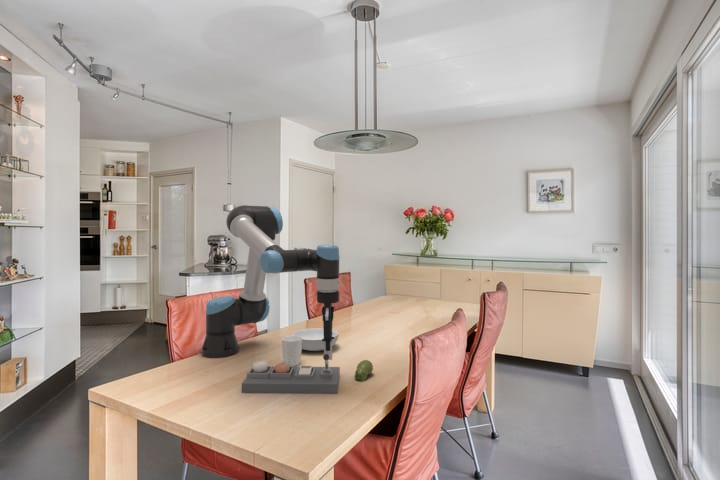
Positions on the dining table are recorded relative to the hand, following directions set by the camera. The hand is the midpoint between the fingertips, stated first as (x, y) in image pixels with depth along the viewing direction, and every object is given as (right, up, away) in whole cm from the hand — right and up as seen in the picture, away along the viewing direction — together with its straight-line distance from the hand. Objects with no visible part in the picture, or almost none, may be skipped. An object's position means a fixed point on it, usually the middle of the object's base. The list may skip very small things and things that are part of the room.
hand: (328, 359), depth 131 cm
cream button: (-23, -4, +1) cm, 24 cm away
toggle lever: (0, -4, +2) cm, 4 cm away
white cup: (-16, -9, +22) cm, 28 cm away
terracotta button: (-16, -5, +2) cm, 17 cm away
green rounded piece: (+12, -9, +8) cm, 18 cm away
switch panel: (-12, -9, +2) cm, 15 cm away
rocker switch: (-8, -5, +2) cm, 10 cm away
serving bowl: (-9, -8, +42) cm, 43 cm away
